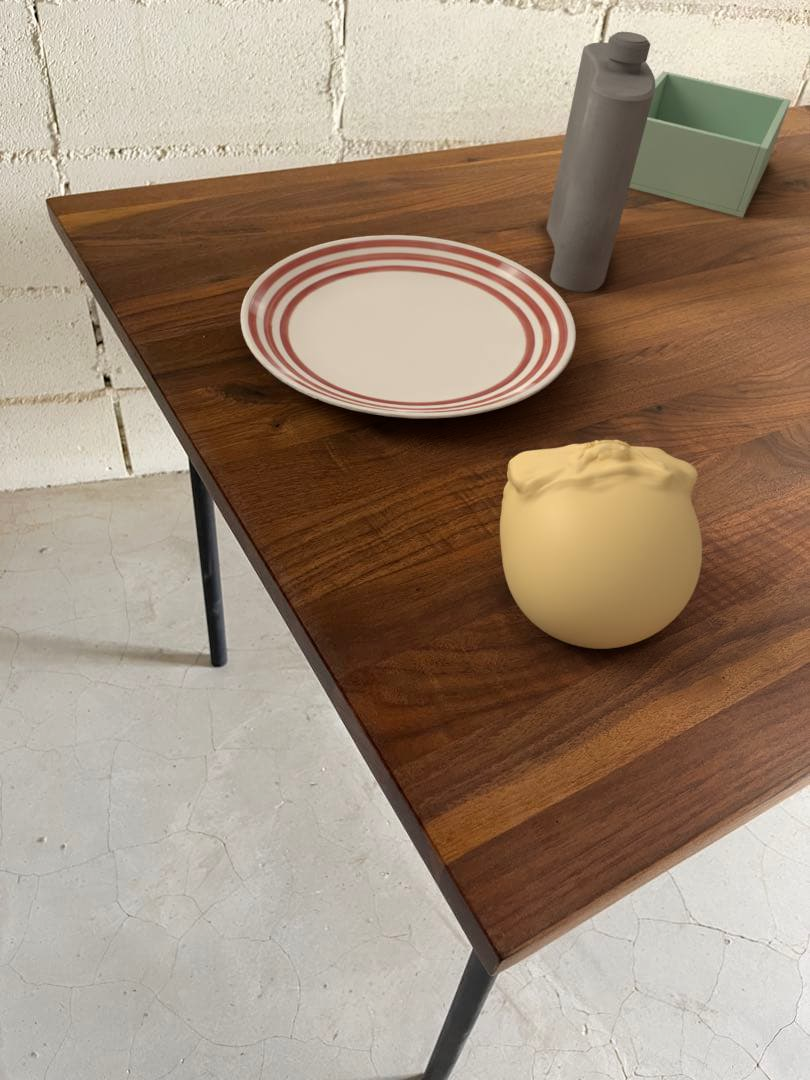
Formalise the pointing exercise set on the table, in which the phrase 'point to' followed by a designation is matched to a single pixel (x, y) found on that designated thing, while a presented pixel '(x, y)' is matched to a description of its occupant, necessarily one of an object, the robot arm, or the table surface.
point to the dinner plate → (408, 326)
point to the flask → (599, 158)
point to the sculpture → (600, 540)
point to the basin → (707, 142)
